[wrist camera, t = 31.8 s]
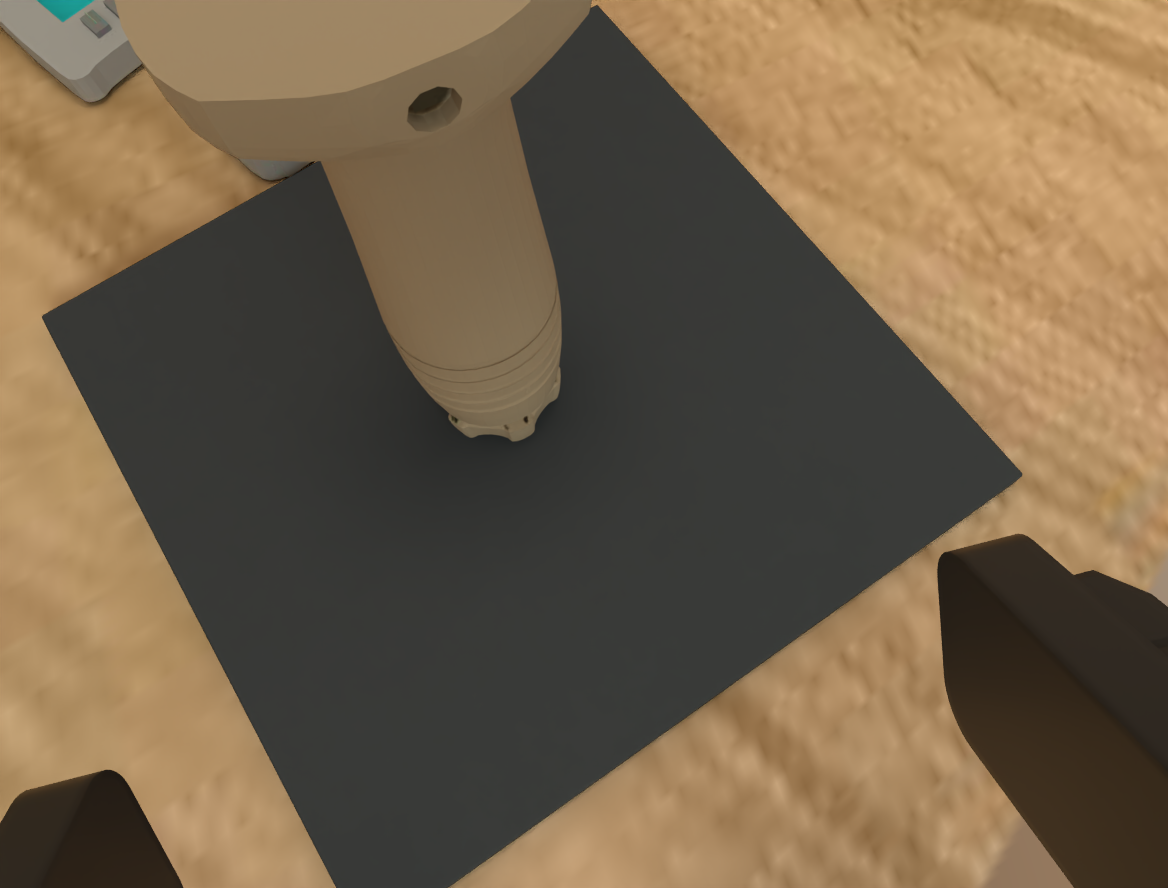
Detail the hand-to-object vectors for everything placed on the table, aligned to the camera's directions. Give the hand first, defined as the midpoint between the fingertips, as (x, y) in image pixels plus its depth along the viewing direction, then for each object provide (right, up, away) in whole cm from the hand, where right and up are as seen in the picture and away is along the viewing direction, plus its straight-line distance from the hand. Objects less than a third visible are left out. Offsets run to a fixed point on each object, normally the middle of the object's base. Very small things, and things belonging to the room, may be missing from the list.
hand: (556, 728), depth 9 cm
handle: (-2, +4, +18) cm, 18 cm away
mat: (-2, +4, +18) cm, 18 cm away
